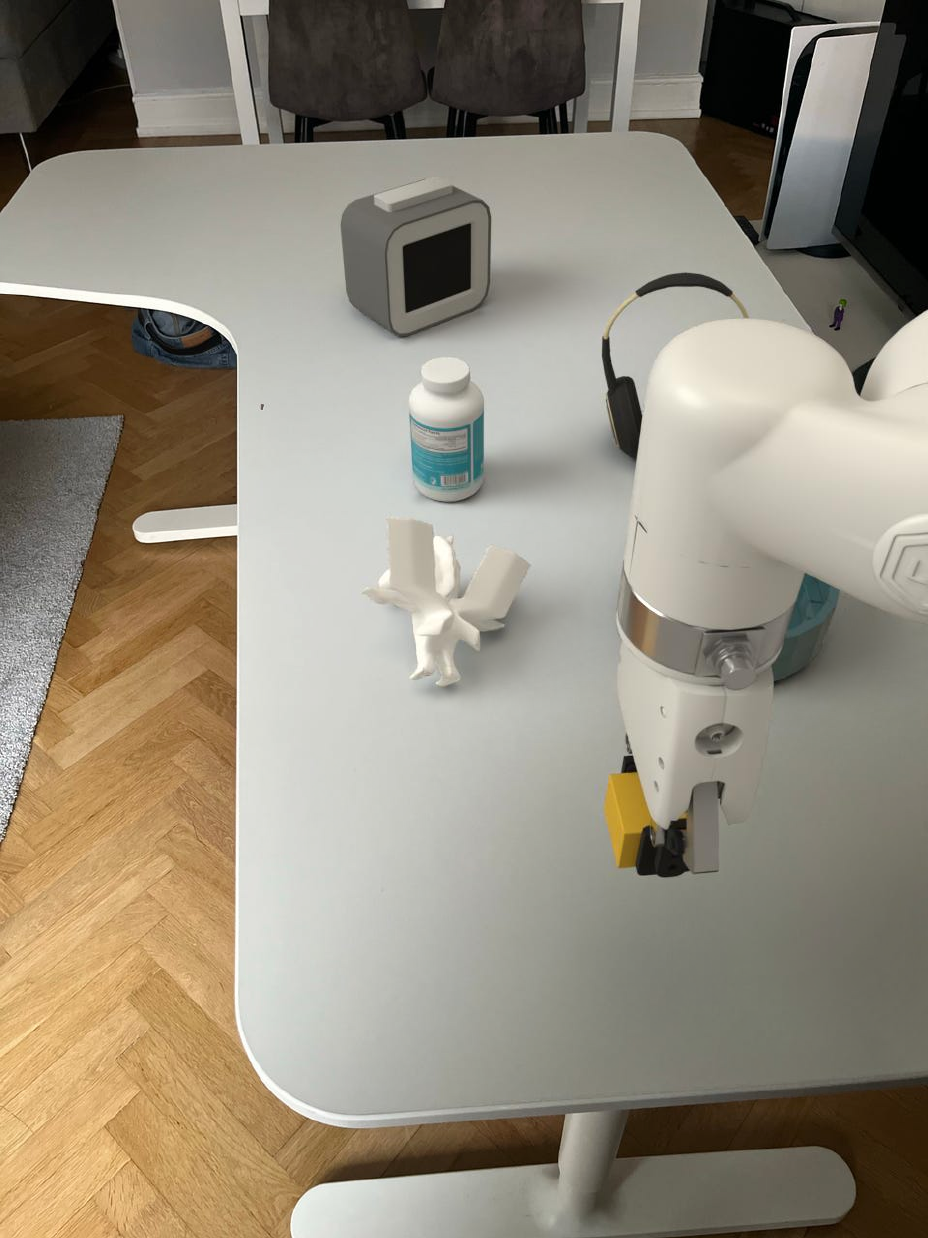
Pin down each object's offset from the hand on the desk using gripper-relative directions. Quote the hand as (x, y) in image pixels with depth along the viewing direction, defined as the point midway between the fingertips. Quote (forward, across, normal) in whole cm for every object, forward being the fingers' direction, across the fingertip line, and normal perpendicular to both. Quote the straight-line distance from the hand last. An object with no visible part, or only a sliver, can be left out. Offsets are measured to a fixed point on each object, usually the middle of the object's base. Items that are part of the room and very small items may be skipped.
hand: (654, 831), depth 57 cm
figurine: (+14, +31, +11) cm, 36 cm away
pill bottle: (+14, +53, +8) cm, 55 cm away
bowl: (+14, +31, -15) cm, 37 cm away
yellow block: (0, 0, 0) cm, 0 cm away
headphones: (+14, +57, -16) cm, 61 cm away
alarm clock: (+14, +92, +9) cm, 93 cm away
